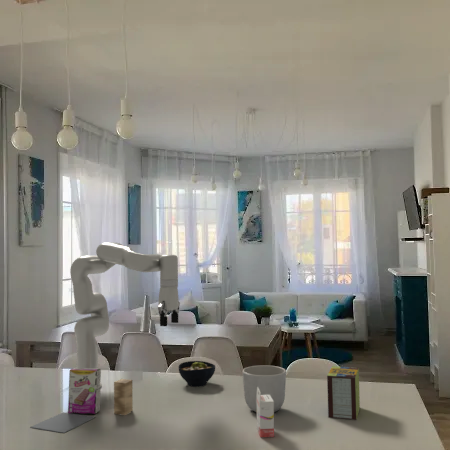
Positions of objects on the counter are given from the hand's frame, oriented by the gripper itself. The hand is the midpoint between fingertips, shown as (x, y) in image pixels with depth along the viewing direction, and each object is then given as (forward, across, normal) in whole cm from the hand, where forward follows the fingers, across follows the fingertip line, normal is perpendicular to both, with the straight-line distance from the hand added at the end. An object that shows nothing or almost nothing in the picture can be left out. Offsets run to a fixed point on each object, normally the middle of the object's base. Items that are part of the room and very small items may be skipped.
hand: (169, 324), depth 215 cm
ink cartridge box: (+31, +24, +50) cm, 64 cm away
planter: (+31, +1, +42) cm, 52 cm away
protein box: (+31, -6, +72) cm, 78 cm away
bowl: (+31, -23, +2) cm, 39 cm away
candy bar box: (+31, +28, -22) cm, 47 cm away
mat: (+31, +40, -22) cm, 55 cm away
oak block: (+31, +23, -8) cm, 39 cm away
